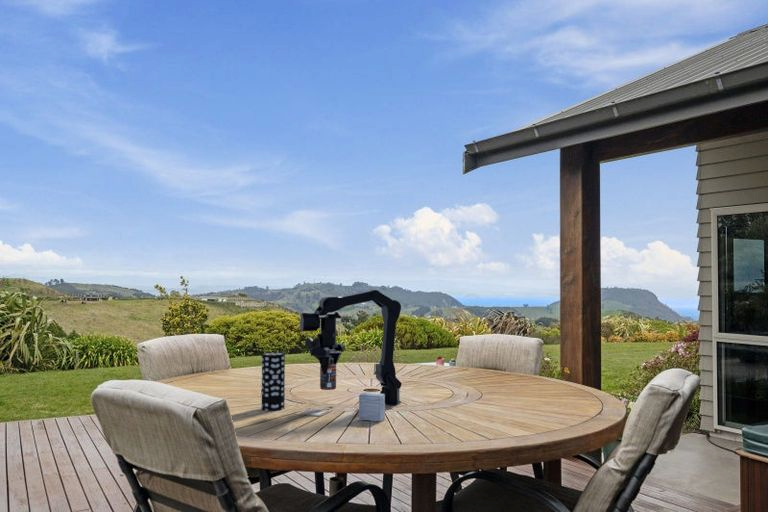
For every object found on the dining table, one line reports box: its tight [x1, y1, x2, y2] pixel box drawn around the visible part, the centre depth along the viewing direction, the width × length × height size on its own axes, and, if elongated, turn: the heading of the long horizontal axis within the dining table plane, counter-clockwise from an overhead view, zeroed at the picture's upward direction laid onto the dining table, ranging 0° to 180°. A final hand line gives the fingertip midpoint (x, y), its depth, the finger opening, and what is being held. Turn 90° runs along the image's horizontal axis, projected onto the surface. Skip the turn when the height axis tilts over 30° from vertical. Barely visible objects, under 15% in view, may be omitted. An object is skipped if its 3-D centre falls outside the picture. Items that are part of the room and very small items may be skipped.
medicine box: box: [358, 392, 386, 422], centre depth 206 cm, size 8×4×9 cm, turn 71°
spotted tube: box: [261, 352, 286, 412], centre depth 225 cm, size 8×8×20 cm
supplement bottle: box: [319, 358, 337, 391], centre depth 226 cm, size 6×6×11 cm
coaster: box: [298, 409, 330, 417], centre depth 216 cm, size 8×8×1 cm
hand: (328, 373), depth 226 cm, fingers closed on supplement bottle, 6 cm apart
